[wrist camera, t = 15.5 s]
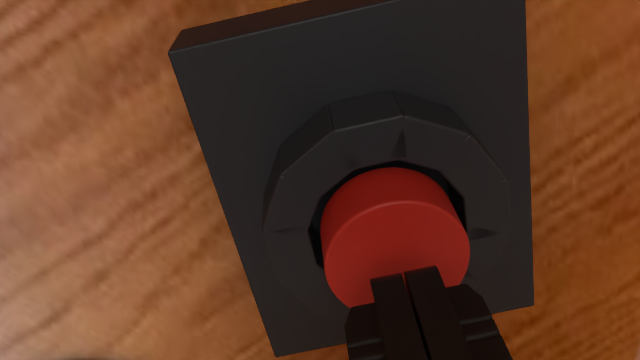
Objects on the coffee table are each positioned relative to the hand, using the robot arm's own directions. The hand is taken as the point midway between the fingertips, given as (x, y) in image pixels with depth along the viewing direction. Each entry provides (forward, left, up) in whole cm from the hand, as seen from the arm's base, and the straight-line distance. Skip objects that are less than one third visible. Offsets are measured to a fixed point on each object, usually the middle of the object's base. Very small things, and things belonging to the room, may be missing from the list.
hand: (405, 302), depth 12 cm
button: (0, 0, -3) cm, 3 cm away
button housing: (0, 0, -7) cm, 7 cm away
